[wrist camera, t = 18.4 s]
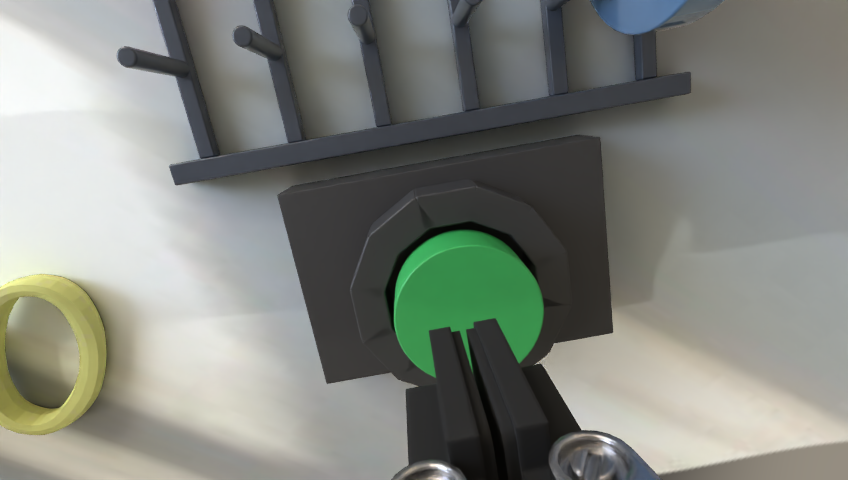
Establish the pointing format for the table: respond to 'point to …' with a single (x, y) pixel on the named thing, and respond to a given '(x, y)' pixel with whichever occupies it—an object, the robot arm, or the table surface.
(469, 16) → the dish rack
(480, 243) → the button
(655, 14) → the plate
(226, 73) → the table surface
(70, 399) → the key
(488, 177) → the block
